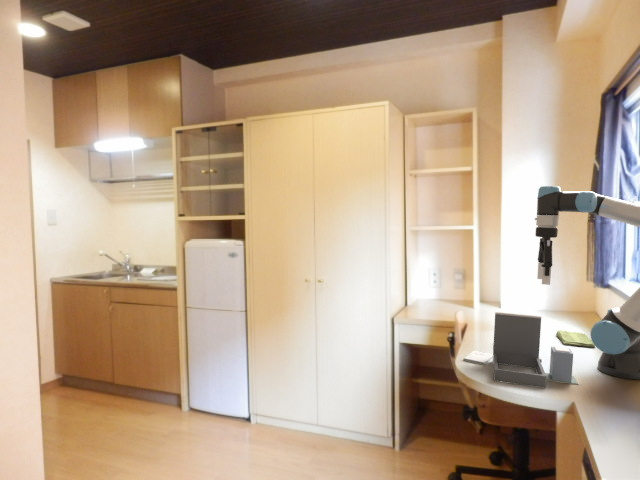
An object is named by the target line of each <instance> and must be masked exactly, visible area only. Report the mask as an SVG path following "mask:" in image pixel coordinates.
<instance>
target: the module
mask: <svg viewBox="0 0 640 480" xmlns="http://www.w3.org/2000/svg"><path fill="white" fill-rule="evenodd" d="M572 351H573V350H572V349H571V348H568V347H561V346H550V359H549V360H550V362H549V372H548V373H549V374H550V376H551V378H552V380H559V381H566V382H571V380H572V376H573V364H574V352H572Z"/></svg>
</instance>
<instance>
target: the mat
mask: <svg viewBox="0 0 640 480" xmlns="http://www.w3.org/2000/svg"><path fill="white" fill-rule="evenodd" d="M549 373H550V372H545V374H546V382H547V381H549V382H555V383H563V384H571V385H577V386H578V385H579V383H578V381H577V379H576V377H575V376H573V375H572V380H571V382H566V381H559V380H552V378H551V376H550V374H549Z"/></svg>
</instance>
